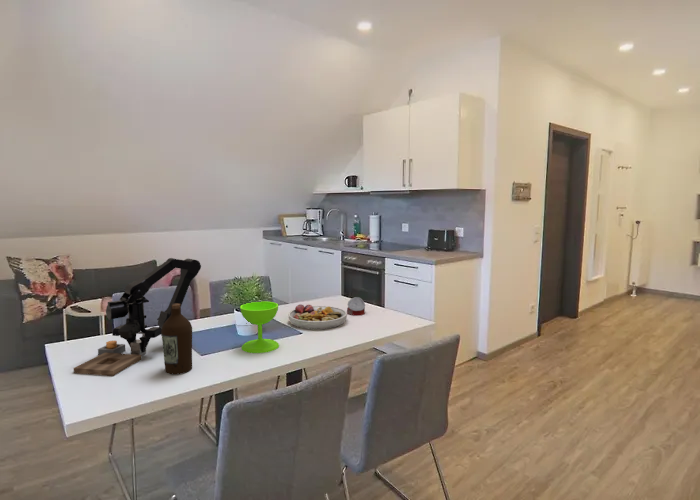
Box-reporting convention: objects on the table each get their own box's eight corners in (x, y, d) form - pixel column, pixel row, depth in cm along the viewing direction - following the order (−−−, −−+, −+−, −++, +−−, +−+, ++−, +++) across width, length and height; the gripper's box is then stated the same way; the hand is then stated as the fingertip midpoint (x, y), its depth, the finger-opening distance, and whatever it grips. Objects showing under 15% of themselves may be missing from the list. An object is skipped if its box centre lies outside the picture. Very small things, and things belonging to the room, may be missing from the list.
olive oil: (178, 362, 167) (175, 299, 164) (200, 366, 163) (197, 302, 160) (156, 373, 157) (153, 306, 154) (179, 377, 154) (176, 309, 151)
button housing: (125, 351, 180) (125, 344, 179) (114, 357, 173) (113, 350, 172) (110, 350, 181) (110, 343, 180) (98, 356, 174) (97, 349, 173)
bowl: (357, 320, 227) (357, 305, 226) (324, 335, 202) (324, 319, 201) (312, 312, 243) (312, 298, 242) (276, 325, 218) (276, 310, 217)
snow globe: (364, 320, 242) (372, 305, 239) (354, 322, 233) (363, 307, 231) (349, 308, 247) (357, 294, 244) (339, 310, 239) (347, 295, 236)
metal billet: (146, 354, 176) (145, 339, 176) (140, 357, 173) (139, 343, 172) (137, 353, 177) (136, 339, 176) (131, 357, 173) (130, 342, 172)
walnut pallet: (141, 359, 170) (141, 354, 170) (113, 376, 155) (113, 370, 154) (105, 357, 173) (104, 352, 173) (74, 373, 157) (73, 368, 157)
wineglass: (233, 350, 181) (232, 308, 179) (254, 338, 196) (253, 300, 194) (266, 355, 175) (265, 312, 173) (285, 342, 190) (285, 303, 188)
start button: (119, 347, 178) (118, 340, 178) (112, 350, 174) (112, 343, 174) (110, 346, 179) (110, 340, 178) (104, 349, 175) (103, 343, 175)
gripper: (101, 318, 166) (103, 357, 168) (145, 321, 163) (147, 360, 165) (120, 311, 177) (122, 348, 179) (162, 313, 174) (164, 350, 176)
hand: (138, 351), depth 175 cm, fingers closed on metal billet, 4 cm apart
